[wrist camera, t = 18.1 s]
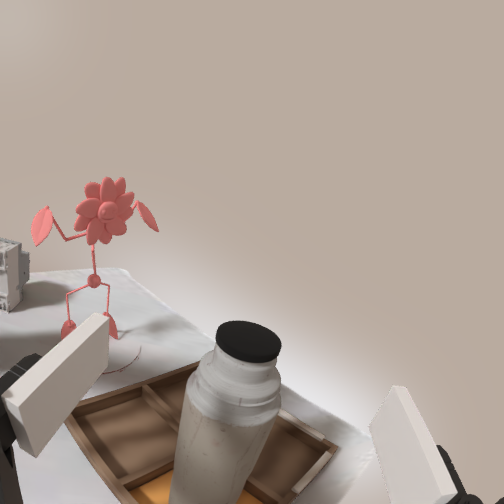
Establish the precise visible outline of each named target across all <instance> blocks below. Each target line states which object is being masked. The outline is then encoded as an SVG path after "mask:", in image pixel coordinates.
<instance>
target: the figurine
mask: <svg viewBox="0 0 504 504" xmlns="http://www.w3.org/2000/svg"><path fill="white" fill-rule="evenodd" d="M125 188H126V184H125V179H124V178H123V177H120V178H119V179H118V180H116V182H113V180H112V179H111V178H109V177H105V178H103V180H102V184H101V185H100V184H98V183H95V182H90V183H88V184H86V186H85V194H86V197H87V199H86V200H84V201H82V202H81V203H80V204H79V205H78V206H77V207H76V213H77V214H79V216H78V217H77V219H76V222H75V224H74V230H75V231H83V230H86V229H87V230H86V232H85V233H82V234H78V235H75V236H72V237H69V238H66V237H65V236H64V234H63V232H62V231H61V229H60V227H59V226H58V224H57V223H56V221H55V219H54V217H53V216H52V212H51V211H50V210H49V207H48V206H45V208H43V209H41V210H40V211H39V212H38V213H37V214H36V216H35V217H34V219H33V222H32V226H31V234H32V237H33V240H34V243H35V245H36V246H38V245H39V244H40V243H41V242H42V241H43V240H44V239H45V238H46V237H47V236H48V234H49V233H50V231H51V228H52V223H54V224H55V226H56V228H57V229H58V231H59V232H60V234H61V236H62V237H63V239H64V240H65V241H69V240H72V239H75V238H78V237H81V236H84V235H86V238H87V243H88V245H92V261H93V269H94V274H92V275H90V276H89V277H88V280H87V282H88V284H87V285H85V286H83V287H80V288H78V289H76V290H73V291H71V292H69V293H66V302H67V312H68V320H67V321H66V322H64V324H63V327H62V329H61V339H62V340H63V339H64V338H65V337H66V336H68V335H69V334H70V333H71V332H72V331H73V330H75V329H76V328H77V327H76V324H75V323H74V322H73V321H72V320H70V315H69V305H68V295H69V294H71V293H73V292H76V291H78V290H80V289H83V288H85V287H88V286H90V287H91V288H97V287H98V286H99V285H100V284H102V285H106V286H108V297H107V312H104V313H103V315H104V316H107V317H110V319H109V335H111V336H112V337H113V338H115V339H118V335H117V328H116V325H115V321H114V320H113V318H112V317H111V315H110V314H109V313H108V306H109V292H110V285H108V284H105V283H102V282H101V279H100V277H99V276H98V275H96V265H95V254H94V244H95V243H96V242H97V240H98V239H99V240H100V241H101V242H102V243H103V244H108V243H109V242H110V241H111V239H112V235H116V236H119V235H123V234H125V233H126V230H127V228H126V225H125V221H126V220H127V219H128V218H130V217H131V216H132V214H133V210H134V208H135V207H136V206H137V208H138V211H139V213H140V215H141V217H142V218H143V220H144V221H145V223H146V224H147V225H148V226H149V227H150V228H152V229H153V230H155V231H156V232H159V230H158V227H157V224H156V222H155V219H154V217H153V216H152V214H151V212H150V211H149V210H148V208H147V207H146V206H145V205H144V204H143V203H141V202H139V201H135V204H134V206H133V207H132V208H131V207H130V205H131V204H132V202H133V199H134V193H133V192H129V193H125ZM136 358H137V357H136ZM138 359H139V358H138ZM129 365H130V364H129ZM127 366H128V365H127ZM127 366H126V367H127ZM124 368H125V367H124ZM122 369H123V368H122ZM119 370H121V369H119ZM124 370H125V369H124ZM117 371H118V370H117ZM122 371H123V370H122ZM113 372H115V371H113ZM120 372H121V371H120ZM108 373H111V372H108ZM102 374H105V373H102Z"/></svg>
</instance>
